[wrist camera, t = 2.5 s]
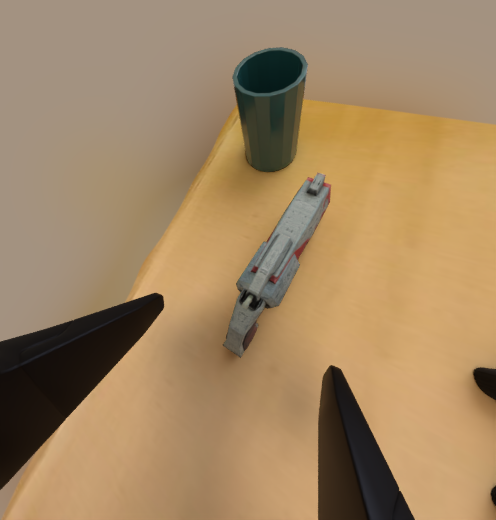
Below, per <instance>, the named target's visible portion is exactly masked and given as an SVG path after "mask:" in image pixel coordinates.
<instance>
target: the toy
mask: <svg viewBox="0 0 496 520" xmlns="http://www.w3.org/2000/svg"><path fill="white" fill-rule="evenodd" d="M474 376H475V380H476V383H477V384H478V386H479V387H480V389H481V390H482V391H483V392H485V393H486V394H487V395H488V396H490V397H492V398H493V399H495V400H496V369H489V368H477V369H476V370H474ZM491 495H492V500H493V502H494V504H495V506H496V487H495V488H494V489H493V490H492V493H491Z"/></svg>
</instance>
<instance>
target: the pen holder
mask: <svg viewBox="0 0 496 520" xmlns="http://www.w3.org/2000/svg"><path fill="white" fill-rule="evenodd" d="M307 67H308V64H307V62H306V60H305V58H304V56H303V55H302V54H300V53H299V52H297V51H295V50H292V49H288V48H282V47H280V48H268V49H264V50H261V51H258V52H255V53H253V54H251V55H250V56H248V57H246V58H244V59H243V60H242V61H241V62H240V63H239V65H238V66H237V67H236V68H235V71H234V74H233V83H234V89H235V94H236V100H237V106H238V112H239V118H240V124H241V129H242V135H243V141H244V146H245V152H246V157H247V160H248V162H249V164H250V165H251V166H252V167H254V168H255V169H257V170H260V171H264V172H273V171H277V170H280V169H283V168H285V167H286V166H288V165H289V164H290V163H291V162H292V161H293V159H294V157H295V155H296V149H297V143H298V135H299V128H300V120H301V113H302V105H303V98H304V89H305V82H306V74H307Z"/></svg>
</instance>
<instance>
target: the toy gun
mask: <svg viewBox="0 0 496 520" xmlns="http://www.w3.org/2000/svg"><path fill="white" fill-rule="evenodd" d="M324 180H325V175H324V174H321V173H317V175H316V176H315V178H314V179H312V178H309V177H308V178H307V180H306V181H305V182H304V184H303V185H302V187H301V188H300V189H299V191H298V192H297V194H296V195H295V197H294V198H293V200H292V201H291V203H290V204H289V206H288V208H287V209H286V211H285V212H284V214H283V215H282V217H281V218H280V220H279V222H278V224H277V225H276V227H275V229H274V230H273V232H272V234H271V235H270V237H269V239H268V240H267V242H263V243H262V245H261V246H260V248H259V249H258V251H257V252H256V254H255V255H254V257H253V258H252V260H251V262H250V263H249V265H248V266H247V268H246V269H245V271H244V272H243V274H242V275H241V277H240V278H239V280H238V281H237V283H236V285H237V288H238V290H239V291H240V292H241V293H240V295H239V296H238V298H237V301H236V304H235V307H234V311H233V314H232V317H231V321H230V324H229V328H228V333H227V336H226V341H225V342H224V344H223V346H224V347H226V348H227V349H229V350H230V351H232V352H233V353H234V354H236V355H237V356H239V357H240V358H241V357H242V355H243V353H244V351H245V350H246V349H247V347H248V346H249V344H250V342H251V341H252V339H253V337H254V334H255V332H256V330H257V327H258V324H257V323H256V320H257V318H258V317H259V315H260V314H261V313H262V311H263V310H264V308H272V307H276V306H279V304H280V303H281V301H282V299H283V297H284V295H285V293H286V291H287V289H288V287H289V285H290V283H291V281H292V279H293V277H294V276H295V274H296V272H297V270H298V268H299V266H300V264H299V262H298V258H299V257H300V255H301V253H302V251H303V250H304V248H305V246H306V245H307V243H308V241H309V240H310V238H311V236H312V234H313V233H314V231H315V229H316V227H317V225H318V224H319V222H320V220H321V218H322V216H323V214H324V212H325V210H326V208H327V207H328V205H329V203H330V191H331V185H330V184H327V183H324Z"/></svg>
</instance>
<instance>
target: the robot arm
mask: <svg viewBox="0 0 496 520" xmlns="http://www.w3.org/2000/svg"><path fill="white" fill-rule="evenodd" d="M163 308H164V300H163V296H162V295H161V294H158V293H153V294H150V295H147V296H144V297H141V298H138V299H135V300H132V301H129V302H126V303H123V304H120V305H117V306H114V307H111V308H108V309H105V310H102V311H99V312H96V313H93V314H90V315H87V316H84V317H81V318H78V319H75V320H74V321H73V320H72V321H69V322H66V323H63V324H60V325H56V326H53V327H50V328H47V329H44V330H40V331H37V332H33V333H30V334H26V335H23V336H19V337H15V338H12V339H8V340H5V341H1V342H0V490H1V489H2V488H3V487H4V486H5V485H6V484H7V483H8V482H9V481H10V479H11V478H12V477H13V476H14V475H15V474H16V473H17V472H18V471H19V470H20V469H21V467H22V466H23V465H24V464H25V463H26V462H27V461H28V460H29V459H30V458H31V457H32V456H33V454H34V453H35V452H36V451H37V450H38V449H39V448H40V447H41V446H42V445H43V444H44V442H45V441H46V440H47V439H48V438H49V437H50V436H51V435H52V434H53V433H54V432H55V431H56V429H57V428H58V427H59V426H60V425H61V424H62V423H63V422H64V421H65V420H66V418H67V417H68V416H69V415H70V414H71V413H72V412H73V411H74V410H75V409H76V408H77V406H78V405H79V404H80V403H81V402H82V401H83V400H84V399H85V398H86V397H87V396H88V394H89V393H90V392H91V391H92V390H93V389H94V388H95V387H96V386H97V385H98V384H99V383H100V381H101V380H102V379H103V378H104V377H105V376H106V375H107V374H108V373H109V372H110V371H111V369H112V368H113V367H114V366H115V365H116V364H117V363H118V362H119V361H120V360H121V359H122V358H123V356H124V355H125V354H126V353H127V352H128V351H129V350H130V349H131V348H132V347H133V346H134V344H135V343H136V342H137V341H138V340H139V339H140V338H141V337H142V336H143V335H144V333H145V332H146V331H147V330H148V328H149V327H150V326H151V325H152V323H153V322H154V321H155V319H156V318H157V317H158V315H159V314H160V313H161V311H162V310H163ZM318 520H415V519H414V517H413V515H412V513H411V511H410V509H409V507H408V505H407V503H406V501H405V499H404V497H403V495H402V493H401V491H399V487H398V485H397V483H396V481H395V479H394V477H393V474H392V472H391V470H390V468H389V466H388V464H387V462H386V460H385V458H384V456H383V454H382V452H381V450H380V448H379V446H378V444H377V442H376V440H375V438H374V436H373V434H372V432H371V430H370V428H369V425H368V423H367V421H366V419H365V417H364V415H363V413H362V411H361V409H360V407H359V405H358V403H357V401H356V399H355V397H354V395H353V393H352V391H351V389H350V387H349V385H348V383H347V381H346V379H345V377H344V374H343V372H342V371H341V369H340V368H338V367H335V366H333V365H330V366H329V368H328V369H327V371H326V372H325V374H324V376H323V380H322V389H321V398H320V408H319V421H318Z"/></svg>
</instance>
